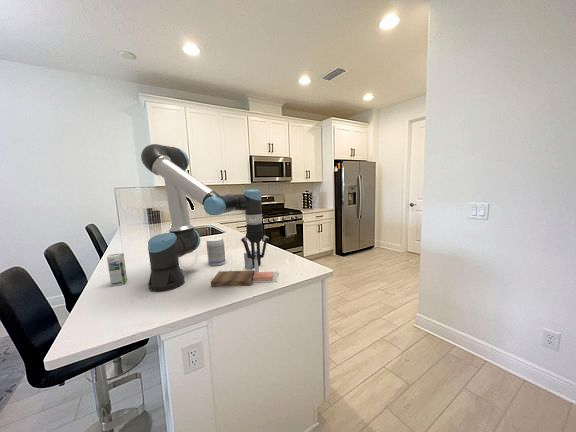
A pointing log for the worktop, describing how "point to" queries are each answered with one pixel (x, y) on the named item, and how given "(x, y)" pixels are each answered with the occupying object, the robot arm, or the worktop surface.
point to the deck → (233, 278)
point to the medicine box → (249, 261)
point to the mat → (275, 275)
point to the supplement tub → (215, 251)
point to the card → (263, 276)
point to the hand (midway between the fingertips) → (257, 271)
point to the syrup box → (117, 269)
